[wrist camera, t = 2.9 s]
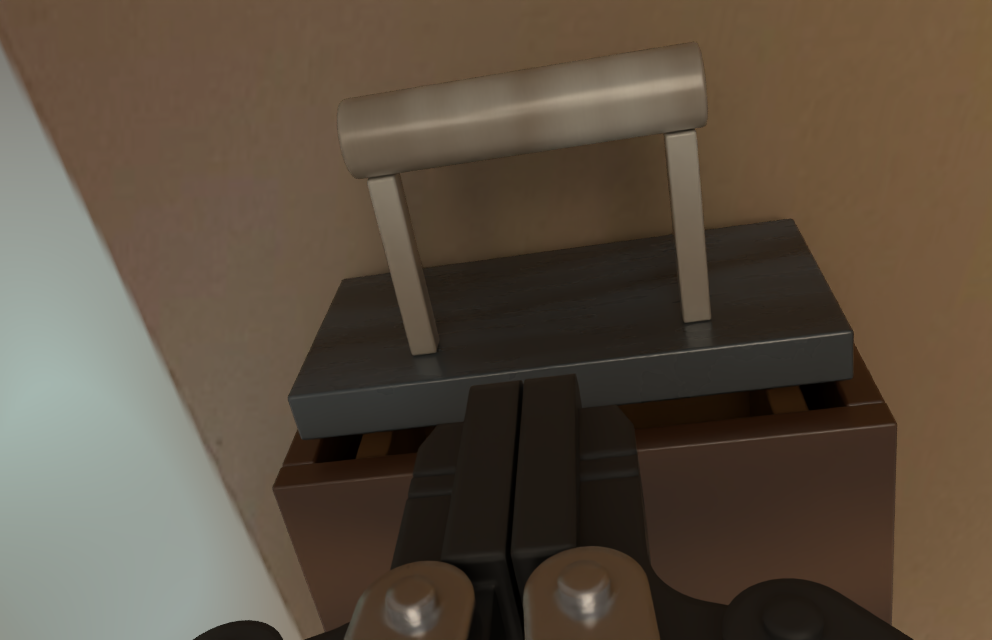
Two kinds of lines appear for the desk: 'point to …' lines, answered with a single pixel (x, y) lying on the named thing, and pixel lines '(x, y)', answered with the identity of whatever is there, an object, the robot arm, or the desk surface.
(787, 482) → the cabinet
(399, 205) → the drawer
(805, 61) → the desk surface
